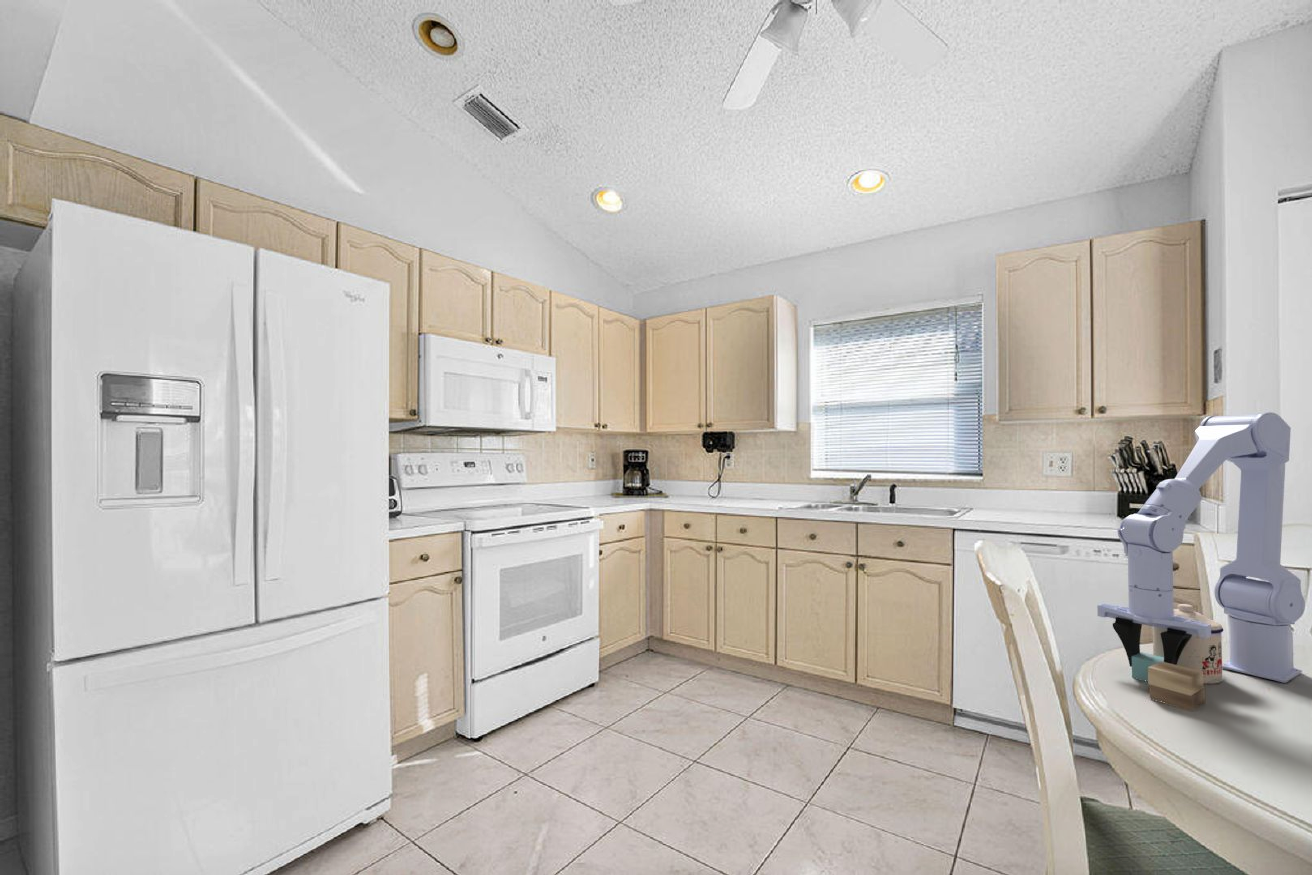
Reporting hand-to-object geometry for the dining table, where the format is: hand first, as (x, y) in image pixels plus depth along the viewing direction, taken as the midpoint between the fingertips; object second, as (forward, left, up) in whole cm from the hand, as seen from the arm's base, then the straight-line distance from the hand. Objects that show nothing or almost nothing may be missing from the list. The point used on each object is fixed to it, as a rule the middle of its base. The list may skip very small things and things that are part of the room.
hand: (1151, 670), depth 97 cm
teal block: (0, 0, -1) cm, 1 cm away
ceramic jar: (-9, +2, -2) cm, 9 cm away
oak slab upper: (+7, +5, +1) cm, 9 cm away
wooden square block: (+7, +6, -2) cm, 9 cm away
